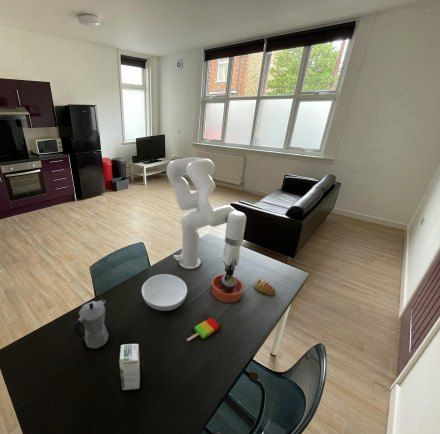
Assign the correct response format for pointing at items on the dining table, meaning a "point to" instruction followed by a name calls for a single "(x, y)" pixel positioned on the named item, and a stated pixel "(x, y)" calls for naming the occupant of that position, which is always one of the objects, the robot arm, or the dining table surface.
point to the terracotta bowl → (220, 293)
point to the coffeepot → (92, 324)
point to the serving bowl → (164, 292)
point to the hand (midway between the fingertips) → (228, 272)
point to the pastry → (264, 287)
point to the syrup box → (130, 366)
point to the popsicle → (205, 329)
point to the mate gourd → (228, 282)
